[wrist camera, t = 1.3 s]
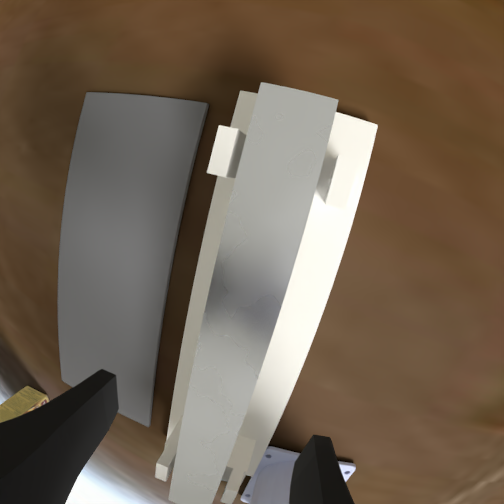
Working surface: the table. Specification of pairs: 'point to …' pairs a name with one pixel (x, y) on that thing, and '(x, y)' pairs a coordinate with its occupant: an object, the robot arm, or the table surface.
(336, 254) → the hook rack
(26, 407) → the candy box
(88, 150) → the rubber mat
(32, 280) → the table surface
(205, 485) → the rail
